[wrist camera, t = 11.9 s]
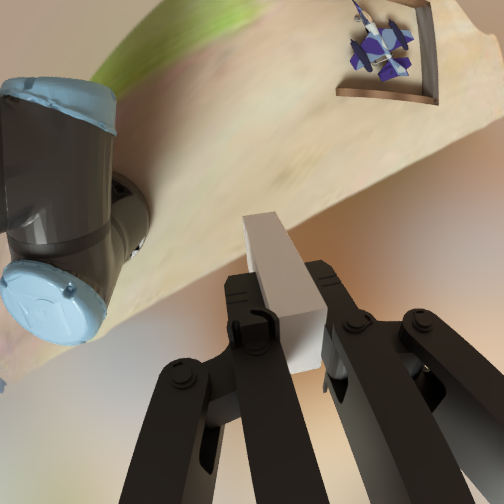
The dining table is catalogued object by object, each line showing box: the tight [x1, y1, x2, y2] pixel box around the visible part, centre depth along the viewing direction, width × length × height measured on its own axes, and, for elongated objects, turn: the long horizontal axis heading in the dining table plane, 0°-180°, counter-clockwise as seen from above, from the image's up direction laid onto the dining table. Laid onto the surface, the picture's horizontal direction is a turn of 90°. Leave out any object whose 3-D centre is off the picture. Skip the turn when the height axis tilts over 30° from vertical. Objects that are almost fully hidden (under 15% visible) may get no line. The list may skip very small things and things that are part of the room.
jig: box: [336, 0, 439, 106], centre depth 32 cm, size 18×19×3 cm
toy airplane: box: [350, 0, 414, 82], centre depth 31 cm, size 13×14×4 cm
